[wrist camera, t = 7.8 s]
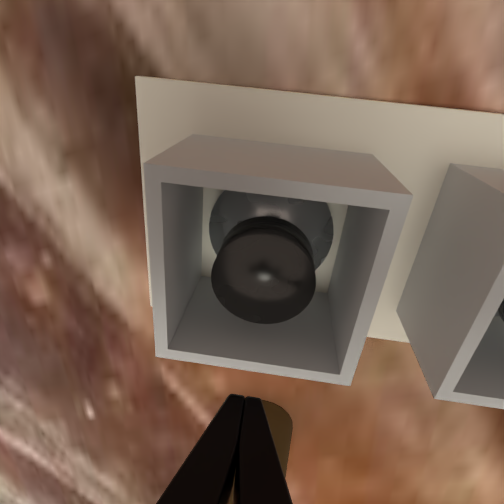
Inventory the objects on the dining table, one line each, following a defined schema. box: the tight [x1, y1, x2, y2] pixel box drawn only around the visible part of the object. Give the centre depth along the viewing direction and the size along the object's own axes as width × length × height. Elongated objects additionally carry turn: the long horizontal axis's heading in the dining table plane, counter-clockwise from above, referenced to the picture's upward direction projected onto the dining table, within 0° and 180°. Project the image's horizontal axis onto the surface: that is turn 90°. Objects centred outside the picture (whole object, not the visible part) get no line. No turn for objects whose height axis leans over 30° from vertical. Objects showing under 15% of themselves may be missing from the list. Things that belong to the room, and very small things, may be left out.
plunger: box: [209, 190, 333, 324], centre depth 17 cm, size 7×7×6 cm
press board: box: [135, 76, 504, 409], centre depth 16 cm, size 28×14×8 cm, turn 85°
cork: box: [229, 400, 292, 504], centre depth 24 cm, size 6×6×11 cm
